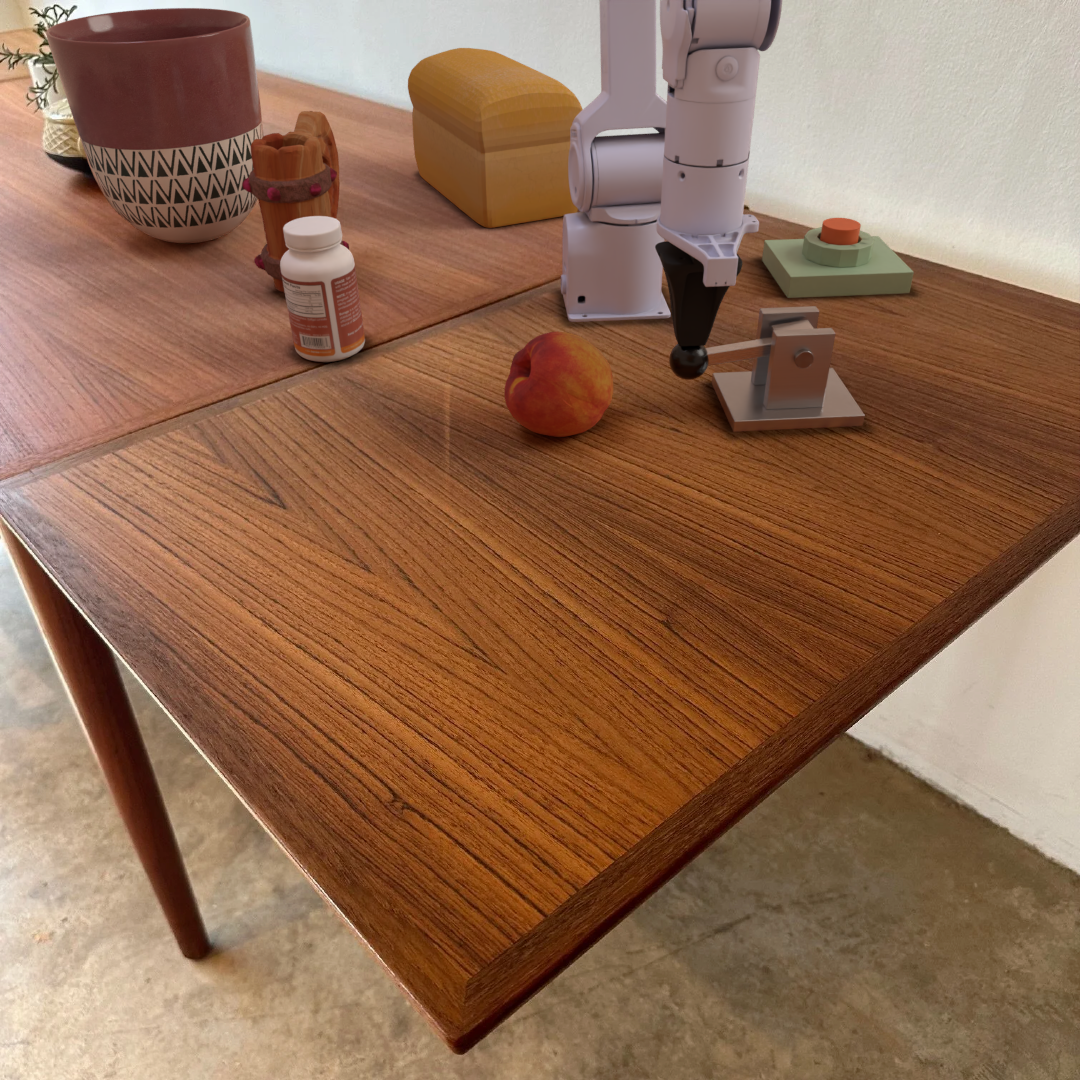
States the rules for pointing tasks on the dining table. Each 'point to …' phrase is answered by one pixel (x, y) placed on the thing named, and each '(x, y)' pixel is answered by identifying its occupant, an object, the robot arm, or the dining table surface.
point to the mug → (293, 183)
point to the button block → (835, 267)
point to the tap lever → (723, 352)
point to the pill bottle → (321, 290)
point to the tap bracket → (788, 380)
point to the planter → (165, 114)
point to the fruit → (558, 385)
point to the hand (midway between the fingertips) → (690, 342)
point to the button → (840, 231)
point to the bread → (493, 135)
